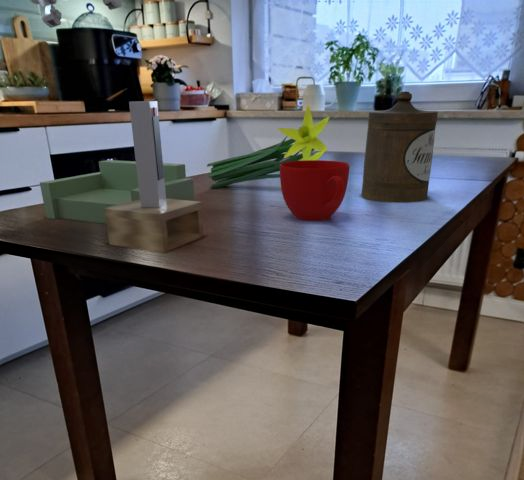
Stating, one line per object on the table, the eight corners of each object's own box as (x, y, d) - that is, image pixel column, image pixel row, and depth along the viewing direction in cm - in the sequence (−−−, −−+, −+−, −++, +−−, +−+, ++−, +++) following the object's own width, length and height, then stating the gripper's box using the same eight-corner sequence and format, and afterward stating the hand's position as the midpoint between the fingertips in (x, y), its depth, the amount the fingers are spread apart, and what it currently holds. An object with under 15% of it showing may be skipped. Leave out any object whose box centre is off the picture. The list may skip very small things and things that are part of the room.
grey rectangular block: (140, 207, 81) (128, 101, 74) (148, 202, 85) (137, 101, 78) (161, 207, 81) (150, 101, 74) (168, 202, 85) (158, 101, 78)
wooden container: (422, 205, 111) (436, 91, 101) (354, 201, 116) (361, 92, 107) (431, 194, 123) (444, 91, 113) (369, 190, 128) (377, 92, 119)
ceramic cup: (306, 233, 90) (307, 173, 85) (269, 214, 104) (269, 162, 99) (370, 226, 94) (375, 168, 89) (326, 209, 108) (328, 158, 104)
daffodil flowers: (233, 184, 145) (353, 152, 129) (221, 221, 137) (346, 192, 121) (202, 133, 133) (330, 91, 117) (187, 171, 125) (322, 131, 109)
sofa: (46, 219, 103) (36, 168, 98) (106, 204, 116) (99, 159, 112) (145, 231, 92) (139, 175, 88) (198, 213, 106) (195, 164, 102)
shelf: (109, 246, 84) (103, 208, 81) (152, 231, 92) (148, 196, 90) (164, 253, 79) (160, 214, 76) (203, 237, 88) (201, 201, 85)
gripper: (4, -88, 65) (-3, 17, 64) (138, -146, 57) (132, -26, 56) (43, -50, 71) (36, 48, 70) (170, -97, 63) (164, 12, 62)
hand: (80, 14), depth 63 cm, fingers open, 8 cm apart
